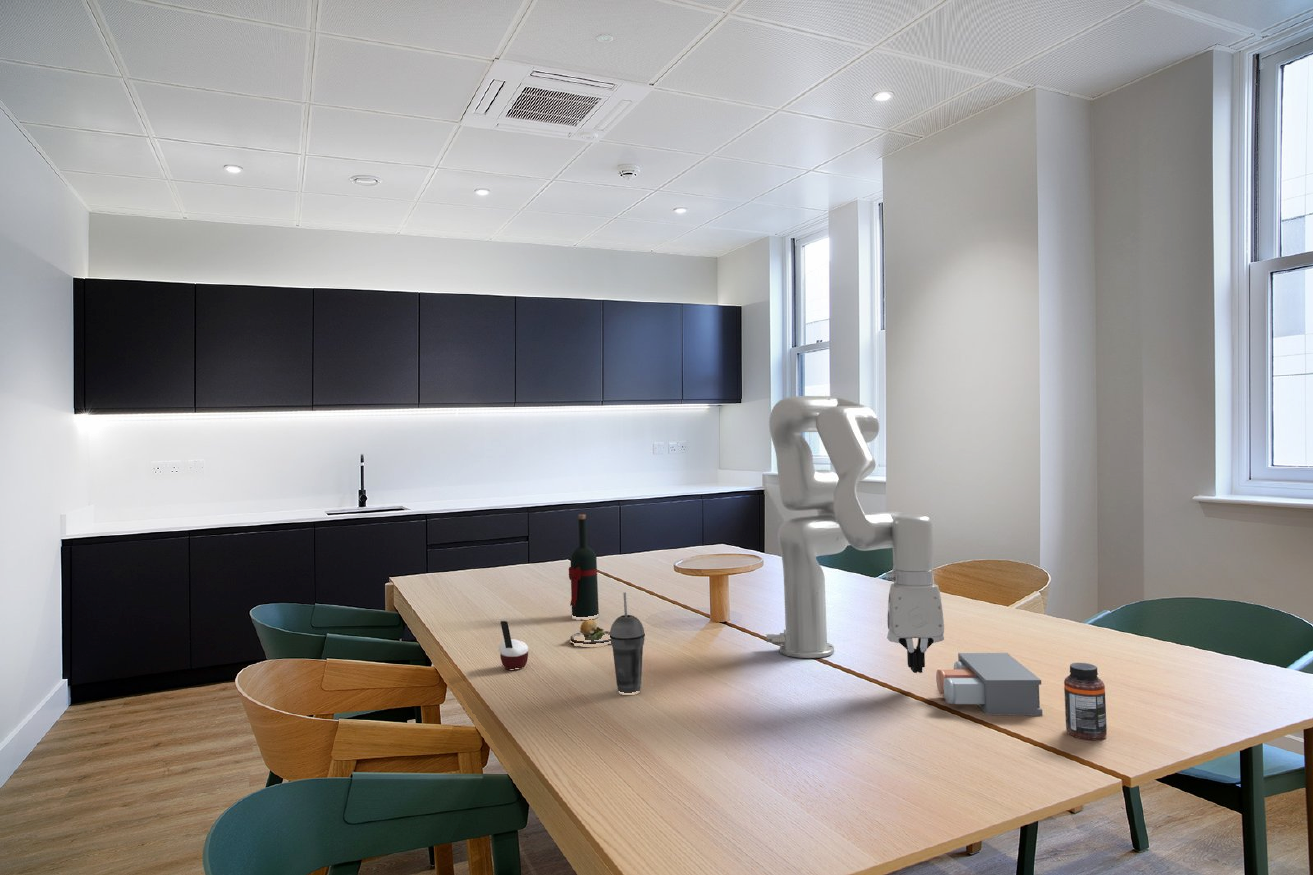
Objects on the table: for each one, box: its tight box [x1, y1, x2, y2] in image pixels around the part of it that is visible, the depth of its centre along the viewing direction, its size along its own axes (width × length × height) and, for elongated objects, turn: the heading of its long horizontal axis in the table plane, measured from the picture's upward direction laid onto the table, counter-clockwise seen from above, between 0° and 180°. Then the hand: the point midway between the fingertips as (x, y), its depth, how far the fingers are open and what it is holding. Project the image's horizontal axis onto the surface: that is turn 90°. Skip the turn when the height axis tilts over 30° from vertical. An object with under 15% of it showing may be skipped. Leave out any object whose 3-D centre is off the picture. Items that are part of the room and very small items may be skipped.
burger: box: [569, 619, 611, 644], centre depth 203 cm, size 12×12×8 cm
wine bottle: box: [568, 513, 600, 617], centre depth 231 cm, size 8×10×30 cm
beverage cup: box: [609, 591, 646, 693], centre depth 161 cm, size 7×7×20 cm
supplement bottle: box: [1063, 662, 1108, 741], centre depth 130 cm, size 6×6×11 cm
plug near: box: [943, 678, 985, 705], centre depth 144 cm, size 9×4×4 cm, turn 84°
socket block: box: [957, 652, 1043, 716], centre depth 149 cm, size 9×18×6 cm, turn 174°
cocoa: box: [498, 620, 530, 670], centre depth 180 cm, size 10×6×12 cm, turn 144°
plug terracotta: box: [935, 668, 975, 695], centre depth 150 cm, size 9×4×4 cm, turn 84°
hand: (916, 670), depth 156 cm, fingers closed
